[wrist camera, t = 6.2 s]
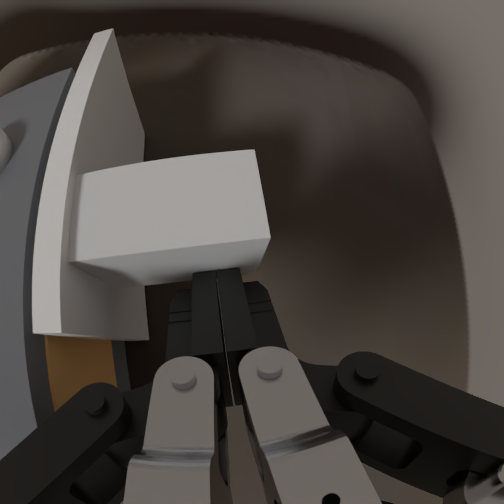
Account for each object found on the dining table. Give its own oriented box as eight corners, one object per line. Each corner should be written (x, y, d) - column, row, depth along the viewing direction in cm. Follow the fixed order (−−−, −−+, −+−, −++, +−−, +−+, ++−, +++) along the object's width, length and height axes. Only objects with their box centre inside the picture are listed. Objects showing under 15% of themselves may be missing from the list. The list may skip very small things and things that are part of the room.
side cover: (131, 341, 13) (32, 333, 5) (131, 136, 16) (94, 33, 9) (253, 328, 14) (286, 311, 6) (225, 124, 17) (227, 11, 9)
